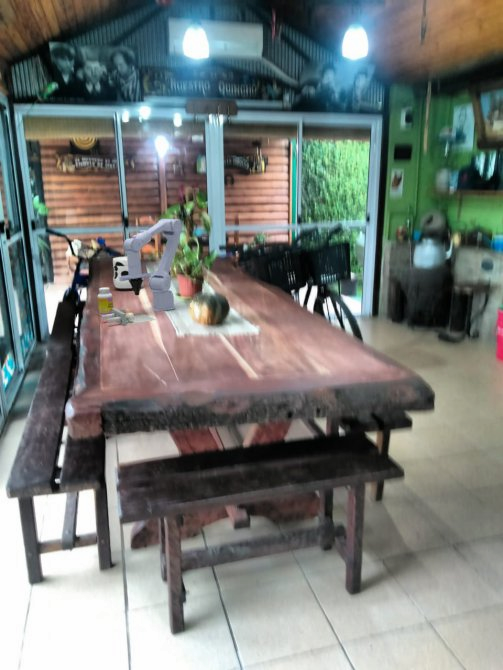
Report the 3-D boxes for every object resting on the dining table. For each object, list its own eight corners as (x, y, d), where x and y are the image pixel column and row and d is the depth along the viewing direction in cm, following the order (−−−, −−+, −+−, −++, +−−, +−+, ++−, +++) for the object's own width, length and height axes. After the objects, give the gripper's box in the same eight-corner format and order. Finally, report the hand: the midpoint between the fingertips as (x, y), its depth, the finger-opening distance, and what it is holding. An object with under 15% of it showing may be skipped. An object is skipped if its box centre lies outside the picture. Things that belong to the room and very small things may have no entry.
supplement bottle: (110, 317, 241) (107, 289, 238) (97, 316, 243) (93, 289, 239) (116, 313, 247) (113, 287, 244) (103, 313, 249) (100, 286, 245)
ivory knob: (131, 319, 231) (130, 311, 230) (134, 321, 228) (133, 313, 227) (107, 323, 225) (106, 315, 224) (109, 325, 222) (108, 317, 221)
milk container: (150, 287, 309) (147, 256, 304) (129, 292, 295) (126, 260, 290) (129, 284, 318) (126, 255, 313) (107, 290, 304) (104, 259, 299)
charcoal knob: (125, 316, 237) (124, 308, 236) (128, 318, 234) (127, 310, 233) (101, 320, 231) (100, 312, 230) (104, 322, 228) (103, 314, 227)
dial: (130, 319, 234) (129, 308, 232) (132, 320, 232) (131, 309, 230) (125, 320, 232) (124, 309, 231) (127, 321, 231) (126, 310, 229)
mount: (144, 315, 243) (143, 303, 241) (156, 321, 232) (155, 308, 231) (113, 320, 235) (111, 308, 234) (123, 326, 224) (122, 314, 223)
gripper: (122, 268, 228) (124, 298, 232) (152, 264, 236) (155, 294, 240) (116, 266, 234) (119, 296, 238) (146, 262, 242) (149, 291, 246)
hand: (137, 294), depth 239 cm, fingers closed
